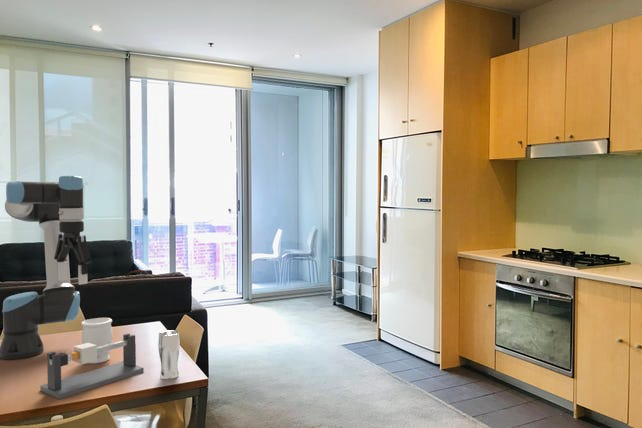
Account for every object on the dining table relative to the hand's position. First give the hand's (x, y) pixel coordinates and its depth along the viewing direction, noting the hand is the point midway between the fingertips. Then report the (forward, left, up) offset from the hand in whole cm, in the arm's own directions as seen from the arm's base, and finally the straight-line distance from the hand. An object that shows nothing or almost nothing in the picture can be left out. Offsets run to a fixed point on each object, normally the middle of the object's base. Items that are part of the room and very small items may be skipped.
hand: (72, 282), depth 171 cm
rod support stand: (+13, 0, -32) cm, 34 cm away
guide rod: (+13, 0, -23) cm, 27 cm away
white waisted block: (+30, +17, -32) cm, 47 cm away
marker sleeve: (+13, -3, -24) cm, 28 cm away
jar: (-6, +12, -32) cm, 35 cm away
